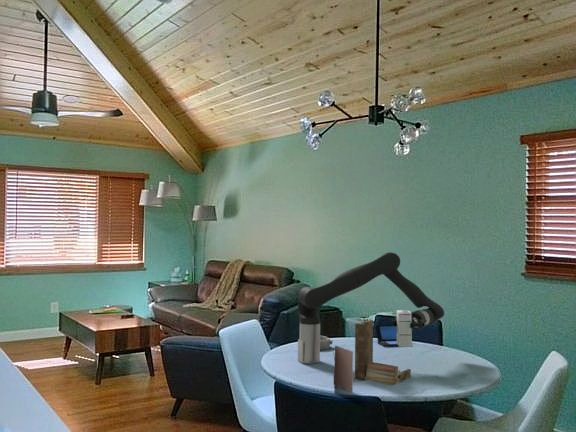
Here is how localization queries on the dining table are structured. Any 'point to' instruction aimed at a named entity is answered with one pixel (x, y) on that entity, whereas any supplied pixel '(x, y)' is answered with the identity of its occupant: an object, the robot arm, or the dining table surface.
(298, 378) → the dining table surface
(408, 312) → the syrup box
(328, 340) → the dish
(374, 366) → the offcut stack
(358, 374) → the walnut rack
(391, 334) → the handheld game console
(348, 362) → the greeting card
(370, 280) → the robot arm
